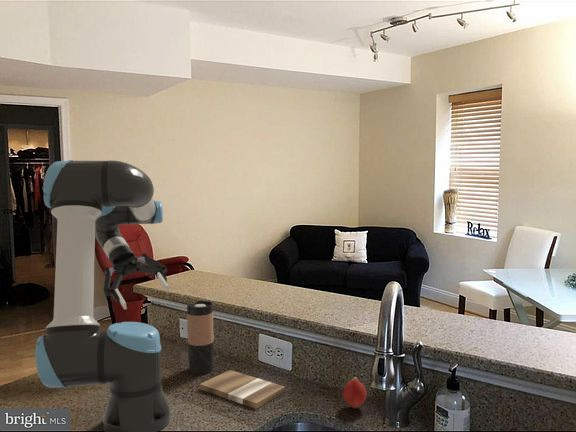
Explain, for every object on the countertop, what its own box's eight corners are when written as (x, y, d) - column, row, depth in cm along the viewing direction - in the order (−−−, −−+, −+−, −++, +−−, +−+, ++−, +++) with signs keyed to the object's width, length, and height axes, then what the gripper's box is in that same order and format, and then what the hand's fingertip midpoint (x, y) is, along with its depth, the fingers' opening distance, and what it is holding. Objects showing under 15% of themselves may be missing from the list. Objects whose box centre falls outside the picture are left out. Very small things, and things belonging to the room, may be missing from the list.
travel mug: (212, 374, 148) (210, 307, 146) (186, 374, 148) (184, 307, 146) (216, 364, 156) (214, 300, 154) (191, 364, 156) (189, 300, 154)
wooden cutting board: (285, 392, 136) (285, 386, 136) (256, 409, 126) (256, 403, 126) (230, 374, 148) (229, 369, 148) (199, 389, 138) (199, 383, 138)
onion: (338, 408, 126) (338, 377, 126) (351, 400, 131) (351, 370, 130) (357, 415, 122) (357, 383, 122) (370, 407, 127) (371, 376, 126)
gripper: (155, 248, 175) (184, 289, 163) (82, 275, 162) (107, 322, 150) (154, 232, 170) (184, 273, 158) (79, 259, 157) (104, 306, 145)
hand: (146, 297), depth 154 cm, fingers open, 13 cm apart
